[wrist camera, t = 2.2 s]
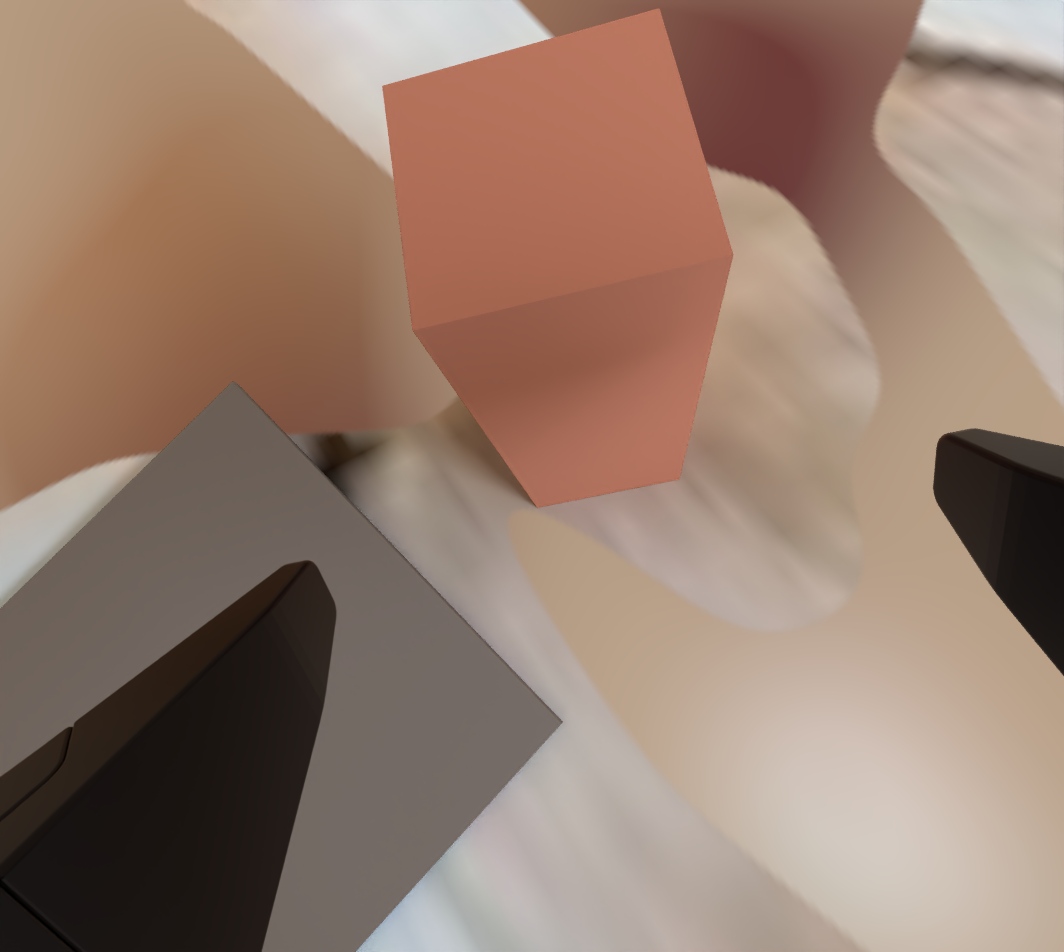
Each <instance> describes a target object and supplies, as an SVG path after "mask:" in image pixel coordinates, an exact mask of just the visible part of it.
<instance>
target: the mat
mask: <svg viewBox="0 0 1064 952" xmlns="http://www.w3.org/2000/svg"><path fill="white" fill-rule="evenodd" d="M304 560H310V561H312V562H314V563H315V564H316V565H317V567H318V568H319V570H320V573H321V575H322V577H323V579H324V581H325V583H326V585H327V587H328V589H329V591H330V593H331V595H332V597H333V599H334V601H335V605H336V610H337V617H336V625H335V632H334V640H333V647H332V654H331V662H330V669H329V676H328V684H327V691H326V697H325V703H324V708H323V712H322V716H321V721H320V725H319V729H318V733H317V737H316V741H315V745H314V749H313V752H312V756H311V760H310V764H309V768H308V772H307V776H306V780H305V784H304V788H303V792H302V796H301V800H300V804H299V808H298V812H297V815H296V819H295V823H294V827H293V831H292V835H291V839H290V843H289V847H288V851H287V855H286V859H285V863H284V867H283V871H282V875H281V879H280V882H279V886H278V890H277V894H276V898H275V902H274V906H273V910H272V914H271V918H270V922H269V926H268V930H267V934H266V938H265V942H264V946H263V949H262V952H355V951H356V950H357V949H358V948H359V947H360V946H361V945H362V944H363V943H364V941H365V940H366V939H367V938H368V937H369V936H370V935H371V934H372V933H373V932H374V930H375V929H376V928H377V927H378V926H379V925H380V924H381V923H382V922H383V920H384V919H385V918H386V917H387V916H388V915H389V914H390V913H391V912H392V910H393V909H394V908H395V907H396V906H397V905H398V904H399V903H400V902H401V901H402V899H403V898H404V897H405V896H406V895H407V894H408V893H409V892H410V891H411V889H412V888H413V887H414V886H415V885H416V884H417V883H418V882H419V881H420V879H421V878H422V877H423V876H424V875H425V874H426V873H427V872H428V871H429V870H430V868H431V867H432V866H433V865H434V864H435V863H436V862H437V861H438V860H439V858H440V857H441V856H442V855H443V854H444V853H445V852H446V851H447V850H448V848H449V847H450V846H451V845H452V844H453V843H454V842H455V841H456V840H457V839H458V837H459V836H460V835H461V834H462V833H463V832H464V831H465V830H466V829H467V827H468V826H469V825H470V824H471V823H472V822H473V821H474V820H475V819H476V817H477V816H478V815H479V814H480V813H481V812H482V811H483V810H484V809H485V807H486V806H487V805H488V804H489V803H490V802H491V801H492V800H493V799H494V798H495V796H496V795H497V794H498V793H499V792H500V791H501V790H502V789H503V788H504V786H505V785H506V784H507V783H508V782H509V781H510V780H511V779H512V778H513V776H514V775H515V774H516V773H517V772H518V771H519V770H520V769H521V768H522V767H523V765H524V764H525V763H526V762H527V761H528V760H529V759H530V758H531V757H532V755H533V754H534V753H535V752H536V751H537V750H538V749H539V748H540V747H541V745H542V744H543V743H544V742H545V741H546V740H547V739H548V738H549V737H550V736H551V734H552V733H553V732H554V731H555V730H556V729H557V728H558V727H559V726H560V724H561V723H562V721H561V720H560V719H559V718H558V717H557V716H556V714H555V713H554V712H553V711H552V710H551V709H550V708H549V707H548V706H547V705H546V704H545V703H544V702H543V701H542V700H541V699H540V698H539V697H538V696H537V695H536V694H535V693H534V692H533V691H532V690H531V688H530V687H529V686H528V685H527V684H526V683H525V682H524V681H523V680H522V679H521V678H520V677H519V676H518V675H517V674H516V673H515V672H514V671H513V670H512V669H511V668H510V667H509V666H508V665H507V664H506V662H505V661H504V660H503V659H502V658H501V657H500V656H499V655H498V654H497V653H496V652H495V651H494V650H493V649H492V648H491V647H490V646H489V645H488V644H487V643H486V642H485V641H484V640H483V639H482V638H481V636H480V635H479V634H478V633H477V632H476V631H475V630H474V629H473V628H472V627H471V626H470V625H469V624H468V623H467V622H466V621H465V620H464V619H463V618H462V617H461V616H460V615H459V614H458V613H457V612H456V610H455V609H454V608H453V607H452V606H451V605H450V604H449V603H448V602H447V601H446V600H445V599H444V598H443V597H442V596H441V595H440V594H439V593H438V592H437V591H436V590H435V589H434V588H433V587H432V586H431V584H430V583H429V582H428V581H427V580H426V579H425V578H424V577H423V576H422V575H421V574H420V573H419V572H418V571H417V570H416V569H415V568H414V567H413V566H412V565H411V564H410V563H409V562H408V561H407V560H406V558H405V557H404V556H403V555H402V554H401V553H400V552H399V551H398V550H397V549H396V548H395V547H394V546H393V545H392V544H391V543H390V542H389V541H388V540H387V539H386V538H385V537H384V536H383V535H382V534H381V532H380V531H379V530H378V529H377V528H376V527H375V526H374V525H373V524H372V523H371V522H370V521H369V520H368V519H367V518H366V517H365V516H364V515H363V514H362V513H361V512H360V511H359V510H358V509H357V508H356V506H355V505H354V504H353V503H352V502H351V501H350V500H349V499H348V498H347V497H346V496H345V495H344V494H343V493H342V492H341V491H340V490H339V489H338V488H337V487H336V486H335V485H334V484H333V483H332V482H331V480H330V479H329V478H328V477H327V476H326V475H325V474H324V473H323V472H322V471H321V470H320V469H319V468H318V467H317V466H316V465H315V464H314V463H313V462H312V461H311V460H310V459H309V458H308V457H307V456H306V454H305V453H304V452H303V451H302V450H301V449H300V448H299V447H298V446H297V445H296V444H295V443H294V442H293V441H292V440H291V439H290V438H289V437H288V436H287V435H286V434H285V433H284V432H283V431H282V430H281V429H280V427H279V426H278V425H277V424H276V423H275V422H274V421H272V419H271V418H270V417H269V416H268V415H267V414H266V413H265V412H264V411H263V410H262V409H261V408H260V407H259V406H258V405H257V404H256V403H255V401H254V400H253V399H251V397H250V396H249V395H248V394H247V393H246V392H245V391H244V390H243V389H242V388H241V387H240V386H239V385H238V384H236V383H235V382H232V383H231V384H230V385H229V386H228V387H227V388H226V389H225V390H223V392H221V393H220V394H219V395H218V396H217V397H216V398H215V399H214V400H213V401H212V402H211V403H210V404H209V405H208V406H207V407H206V408H205V409H204V410H203V411H202V412H201V413H200V414H199V415H198V416H197V417H196V418H195V419H194V420H193V421H192V422H191V423H190V424H189V425H188V426H187V427H186V428H185V429H184V430H183V431H182V432H181V433H180V434H178V436H177V437H176V438H174V440H172V441H171V442H170V443H169V444H168V445H167V446H166V447H165V448H164V449H163V450H162V451H161V452H160V453H159V454H158V455H157V456H156V457H155V458H154V459H153V460H152V461H151V462H150V463H149V464H148V465H147V466H146V467H145V468H144V469H143V470H142V471H141V472H140V473H139V474H138V475H137V476H136V477H135V478H134V479H132V480H131V481H130V482H129V483H128V484H127V485H126V486H125V487H124V488H123V489H122V490H121V491H120V492H119V493H118V494H117V495H116V496H115V497H114V498H113V499H112V500H111V501H110V502H109V503H108V504H107V505H106V506H105V507H104V508H103V509H102V510H101V511H100V512H99V513H98V514H97V515H96V516H95V517H94V518H93V519H92V520H91V521H90V522H89V523H87V524H86V525H85V526H84V527H83V528H82V529H81V530H80V531H79V532H78V533H77V534H76V535H75V536H74V537H73V538H72V539H71V540H70V541H69V542H68V543H67V544H66V545H65V546H64V547H63V548H62V549H61V550H60V551H59V552H58V553H57V554H56V555H55V556H54V557H53V558H52V559H51V560H50V561H49V562H48V563H47V564H46V565H45V566H44V567H43V568H41V569H40V570H39V571H38V572H37V573H36V574H35V575H34V576H33V577H32V578H31V579H30V580H29V581H28V582H27V583H26V584H25V585H24V586H23V587H22V588H21V589H20V590H19V591H18V592H17V593H16V594H15V595H14V596H13V597H12V598H11V599H10V600H9V601H8V602H7V603H6V604H5V605H4V606H3V607H2V608H1V609H0V776H2V775H3V774H5V773H6V772H7V771H9V770H10V769H11V768H13V767H14V766H15V765H17V764H18V763H20V762H21V761H22V760H24V759H25V758H26V757H28V756H29V755H30V754H32V753H33V752H35V751H36V750H37V749H39V748H40V747H41V746H43V745H44V744H45V743H47V742H48V741H49V740H51V739H52V738H53V737H55V736H56V735H57V734H59V733H60V732H61V731H63V730H64V729H65V728H67V727H70V726H71V727H73V724H74V722H75V721H76V720H78V719H79V718H80V717H82V716H83V715H84V714H86V713H87V712H88V711H90V710H91V709H92V708H94V707H95V706H96V705H98V704H99V703H100V702H102V701H103V700H104V699H106V698H107V697H108V696H110V695H111V694H112V693H114V692H115V691H116V690H118V689H119V688H120V687H122V686H123V685H124V684H126V683H127V682H128V681H130V680H131V679H132V678H134V677H135V676H136V675H138V674H139V673H140V672H142V671H143V670H144V669H146V668H147V667H148V666H150V665H151V664H152V663H154V662H155V661H156V660H158V659H159V658H160V657H162V656H163V655H164V654H166V653H167V652H168V651H170V650H171V649H172V648H174V647H175V646H176V645H178V644H179V643H180V642H182V641H183V640H184V639H186V638H187V637H188V636H190V635H191V634H192V633H194V632H195V631H196V630H198V629H199V628H200V627H202V626H203V625H204V624H206V623H207V622H208V621H210V620H211V619H212V618H214V617H215V616H216V615H218V614H219V613H220V612H222V611H223V610H224V609H226V608H227V607H228V606H230V605H231V604H232V603H234V602H235V601H236V600H238V599H239V598H240V597H242V596H243V595H244V594H246V593H247V592H248V591H250V590H251V589H252V588H254V587H255V586H256V585H258V584H259V583H260V582H262V581H263V580H264V579H266V578H267V577H268V576H270V575H271V574H272V573H274V572H275V571H276V570H278V569H279V568H280V567H282V566H283V565H285V564H289V563H294V562H299V561H304Z"/></svg>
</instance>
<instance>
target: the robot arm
mask: <svg viewBox="0 0 1064 952" xmlns="http://www.w3.org/2000/svg"><path fill="white" fill-rule="evenodd" d="M936 449H937V450H936V460H935V472H934V484H933V490H934V495H935V499H936V501H937V503H938V505H939V507H940V508H941V510H942V512H943V513H944V515H945V516H946V518H947V519H948V521H949V522H950V524H951V526H952V527H953V529H954V530H955V532H956V533H957V535H958V536H959V538H960V539H961V541H962V543H963V544H964V546H965V547H966V549H967V550H968V552H969V553H970V555H971V557H972V558H973V559H974V561H975V563H976V564H977V566H978V567H979V569H980V570H981V572H982V574H983V575H984V577H985V578H986V580H987V581H988V582H989V584H990V585H991V587H992V588H993V589H994V591H995V592H996V594H997V595H998V596H999V597H1000V599H1001V600H1002V601H1003V603H1004V604H1005V605H1006V606H1007V608H1008V609H1009V610H1010V611H1011V613H1012V614H1013V615H1014V616H1015V617H1016V619H1017V620H1018V621H1019V622H1020V623H1021V625H1022V626H1023V627H1024V628H1025V629H1026V631H1027V632H1028V633H1029V634H1030V635H1031V637H1032V638H1033V639H1034V640H1035V642H1036V643H1037V644H1038V645H1039V647H1040V648H1041V649H1042V650H1043V651H1044V653H1045V654H1046V655H1047V656H1048V657H1049V659H1050V660H1051V661H1052V662H1053V663H1054V665H1055V666H1056V667H1057V668H1058V670H1059V671H1060V672H1061V673H1062V674H1063V676H1064V447H1063V446H1059V445H1054V444H1049V443H1044V442H1040V441H1035V440H1030V439H1025V438H1020V437H1015V436H1010V435H1006V434H1001V433H996V432H991V431H986V430H981V429H967V430H961V431H956V432H952V433H947V434H944V435H943V436H942V437H941V438H940V439H939V441H938V443H937V448H936ZM336 617H337V610H336V605H335V601H334V599H333V597H332V595H331V593H330V591H329V589H328V587H327V585H326V583H325V581H324V579H323V577H322V575H321V573H320V570H319V568H318V567H317V565H316V564H315V563H314V562H312V561H310V560H304V561H299V562H294V563H289V564H285V565H283V566H282V567H280V568H279V569H278V570H276V571H275V572H274V573H272V574H271V575H270V576H268V577H267V578H266V579H264V580H263V581H262V582H260V583H259V584H258V585H256V586H255V587H254V588H252V589H251V590H250V591H248V592H247V593H246V594H244V595H243V596H242V597H240V598H239V599H238V600H236V601H235V602H234V603H232V604H231V605H230V606H228V607H227V608H226V609H224V610H223V611H222V612H220V613H219V614H218V615H216V616H215V617H214V618H212V619H211V620H210V621H208V622H207V623H206V624H204V625H203V626H202V627H200V628H199V629H198V630H196V631H195V632H194V633H192V634H191V635H190V636H188V637H187V638H186V639H184V640H183V641H182V642H180V643H179V644H178V645H176V646H175V647H174V648H172V649H171V650H170V651H168V652H167V653H166V654H164V655H163V656H162V657H160V658H159V659H158V660H156V661H155V662H154V663H152V664H151V665H150V666H148V667H147V668H146V669H144V670H143V671H142V672H140V673H139V674H138V675H136V676H135V677H134V678H132V679H131V680H130V681H128V682H127V683H126V684H124V685H123V686H122V687H120V688H119V689H118V690H116V691H115V692H114V693H112V694H111V695H110V696H108V697H107V698H106V699H104V700H103V701H102V702H100V703H99V704H98V705H96V706H95V707H94V708H92V709H91V710H90V711H88V712H87V713H86V714H84V715H83V716H82V717H80V718H79V719H78V720H76V721H75V722H74V724H73V727H71V726H70V727H67V728H65V729H64V730H63V731H61V732H60V733H59V734H57V735H56V736H55V737H53V738H52V739H51V740H49V741H48V742H47V743H45V744H44V745H43V746H41V747H40V748H39V749H37V750H36V751H35V752H33V753H32V754H30V755H29V756H28V757H26V758H25V759H24V760H22V761H21V762H20V763H18V764H17V765H15V766H14V767H13V768H11V769H10V770H9V771H7V772H6V773H5V774H3V775H2V776H0V952H262V949H263V946H264V942H265V938H266V934H267V930H268V926H269V922H270V918H271V914H272V910H273V906H274V902H275V898H276V894H277V890H278V886H279V882H280V879H281V875H282V871H283V867H284V863H285V859H286V855H287V851H288V847H289V843H290V839H291V835H292V831H293V827H294V823H295V819H296V815H297V812H298V808H299V804H300V800H301V796H302V792H303V788H304V784H305V780H306V776H307V772H308V768H309V764H310V760H311V756H312V752H313V749H314V745H315V741H316V737H317V733H318V729H319V725H320V721H321V716H322V712H323V708H324V703H325V697H326V691H327V684H328V676H329V669H330V662H331V654H332V647H333V640H334V632H335V625H336Z"/></svg>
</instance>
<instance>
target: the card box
mask: <svg viewBox="0 0 1064 952" xmlns="http://www.w3.org/2000/svg"><path fill="white" fill-rule="evenodd" d="M382 87H383V95H384V103H385V111H386V119H387V127H388V136H389V144H390V152H391V160H392V168H393V176H394V184H395V191H396V200H397V207H398V216H399V224H400V232H401V240H402V248H403V256H404V264H405V272H406V280H407V288H408V296H409V305H410V313H411V321H412V329H413V332H414V333H415V335H416V336H417V337H418V339H419V340H420V342H421V343H422V344H423V346H424V347H425V349H426V350H427V352H428V353H429V354H430V356H431V357H432V359H433V360H434V361H435V363H436V364H437V366H438V367H439V369H440V370H441V371H442V373H443V374H444V376H445V377H446V378H447V380H448V381H449V383H450V384H451V386H452V387H453V388H454V390H455V391H456V393H457V394H458V396H459V397H460V398H461V400H462V401H463V403H464V404H465V406H466V407H467V408H468V410H469V411H470V413H471V414H472V416H473V417H474V418H475V420H476V421H477V423H478V424H479V425H480V427H481V428H482V430H483V431H484V433H485V434H486V435H487V437H488V438H489V440H490V441H491V443H492V444H493V445H494V447H495V448H496V450H497V451H498V452H499V454H500V455H501V457H502V458H503V460H504V461H505V462H506V464H507V465H508V467H509V468H510V470H511V471H512V472H513V474H514V475H515V477H516V478H517V479H518V481H519V482H520V484H521V485H522V487H523V488H524V489H525V491H526V492H527V494H528V495H529V497H530V498H531V499H532V501H533V502H534V504H535V505H536V506H537V508H538V507H543V506H548V505H553V504H558V503H563V502H568V501H573V500H578V499H583V498H588V497H593V496H598V495H603V494H608V493H613V492H618V491H623V490H628V489H633V488H638V487H643V486H648V485H653V484H658V483H663V482H668V481H673V480H678V479H680V475H681V471H682V466H683V462H684V458H685V454H686V450H687V446H688V441H689V437H690V433H691V429H692V425H693V421H694V417H695V412H696V408H697V404H698V400H699V396H700V392H701V387H702V383H703V379H704V375H705V371H706V367H707V362H708V358H709V354H710V350H711V346H712V342H713V337H714V333H715V329H716V325H717V321H718V317H719V312H720V308H721V304H722V300H723V296H724V292H725V287H726V283H727V279H728V275H729V271H730V267H731V262H732V258H733V252H732V249H731V246H730V242H729V239H728V236H727V232H726V229H725V226H724V222H723V219H722V216H721V212H720V209H719V206H718V202H717V199H716V196H715V192H714V189H713V186H712V182H711V179H710V176H709V172H708V169H707V166H706V162H705V159H704V156H703V152H702V149H701V146H700V142H699V139H698V136H697V132H696V129H695V126H694V123H693V119H692V116H691V112H690V109H689V106H688V102H687V99H686V96H685V92H684V89H683V86H682V82H681V79H680V76H679V72H678V69H677V66H676V62H675V59H674V56H673V52H672V49H671V45H670V42H669V39H668V35H667V32H666V29H665V26H664V22H663V19H662V15H661V12H660V9H655V10H651V11H648V12H644V13H641V14H637V15H634V16H630V17H626V18H623V19H620V20H616V21H612V22H609V23H606V24H602V25H598V26H595V27H591V28H587V29H584V30H581V31H577V32H573V33H569V34H566V35H563V36H559V37H556V38H552V39H548V40H544V41H541V42H537V43H534V44H530V45H527V46H523V47H519V48H516V49H512V50H509V51H505V52H502V53H498V54H495V55H491V56H487V57H484V58H480V59H477V60H473V61H470V62H466V63H462V64H459V65H455V66H452V67H448V68H445V69H441V70H437V71H434V72H430V73H427V74H423V75H420V76H416V77H412V78H409V79H405V80H402V81H398V82H395V83H391V84H388V85H384V86H382Z"/></svg>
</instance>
